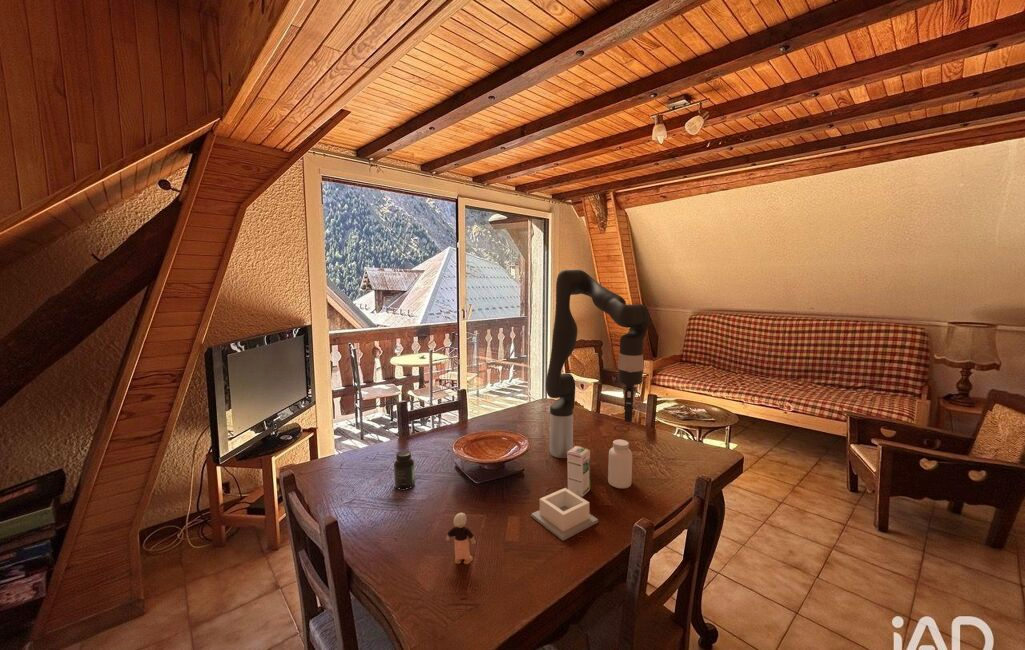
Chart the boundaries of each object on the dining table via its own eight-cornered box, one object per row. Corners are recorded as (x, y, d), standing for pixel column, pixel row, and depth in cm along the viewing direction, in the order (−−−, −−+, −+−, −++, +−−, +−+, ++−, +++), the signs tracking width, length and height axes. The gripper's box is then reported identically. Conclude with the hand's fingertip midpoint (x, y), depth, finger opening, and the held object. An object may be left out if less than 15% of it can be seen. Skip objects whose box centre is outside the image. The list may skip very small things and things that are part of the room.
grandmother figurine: (476, 554, 105) (475, 509, 104) (476, 564, 102) (474, 517, 100) (447, 555, 105) (445, 510, 104) (445, 565, 101) (443, 518, 100)
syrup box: (582, 497, 132) (583, 455, 130) (566, 491, 135) (566, 450, 134) (590, 490, 136) (590, 449, 135) (575, 484, 140) (575, 444, 138)
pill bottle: (632, 490, 136) (633, 447, 134) (608, 488, 137) (608, 446, 136) (630, 478, 144) (631, 438, 142) (607, 476, 145) (608, 436, 143)
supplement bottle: (419, 485, 141) (417, 452, 140) (401, 493, 136) (400, 459, 135) (408, 479, 146) (406, 447, 144) (391, 486, 141) (389, 453, 139)
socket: (531, 516, 122) (531, 498, 121) (565, 501, 130) (565, 483, 129) (562, 540, 110) (562, 520, 110) (598, 522, 118) (598, 503, 118)
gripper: (619, 361, 135) (617, 408, 137) (616, 372, 121) (615, 423, 123) (642, 363, 132) (640, 410, 135) (643, 374, 119) (640, 426, 121)
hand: (628, 416), depth 129 cm, fingers open, 8 cm apart
